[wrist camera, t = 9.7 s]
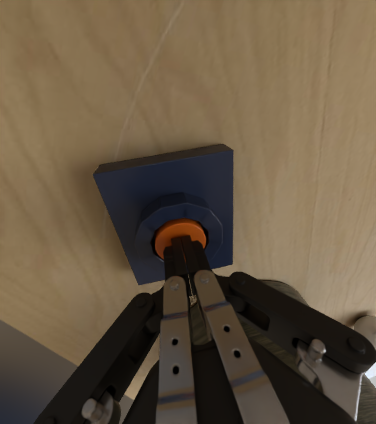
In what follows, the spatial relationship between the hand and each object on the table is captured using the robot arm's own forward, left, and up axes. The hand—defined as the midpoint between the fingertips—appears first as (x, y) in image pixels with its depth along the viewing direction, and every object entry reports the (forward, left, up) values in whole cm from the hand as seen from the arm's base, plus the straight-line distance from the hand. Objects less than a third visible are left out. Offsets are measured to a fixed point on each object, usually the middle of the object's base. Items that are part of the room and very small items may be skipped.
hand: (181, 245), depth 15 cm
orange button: (0, 0, -2) cm, 2 cm away
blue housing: (0, 0, -4) cm, 4 cm away
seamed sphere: (+33, +32, -4) cm, 46 cm away
